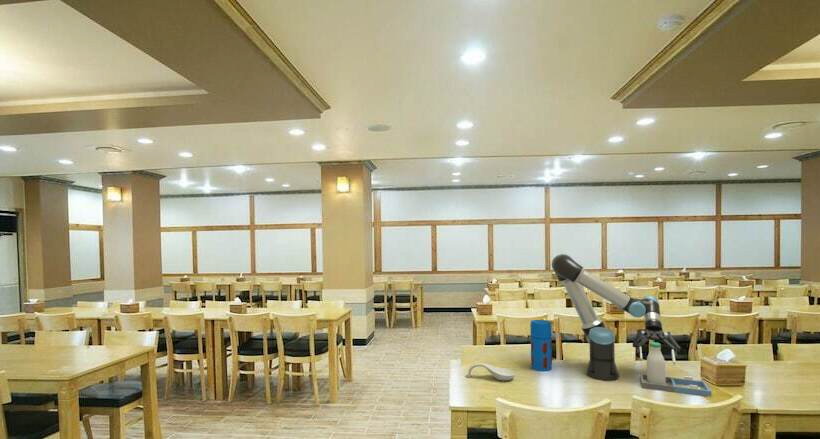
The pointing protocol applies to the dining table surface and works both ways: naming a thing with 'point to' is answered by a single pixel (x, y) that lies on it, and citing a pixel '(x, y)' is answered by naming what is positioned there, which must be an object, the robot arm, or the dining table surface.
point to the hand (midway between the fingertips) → (657, 361)
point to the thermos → (541, 345)
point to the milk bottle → (656, 365)
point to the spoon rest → (495, 371)
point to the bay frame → (687, 381)
